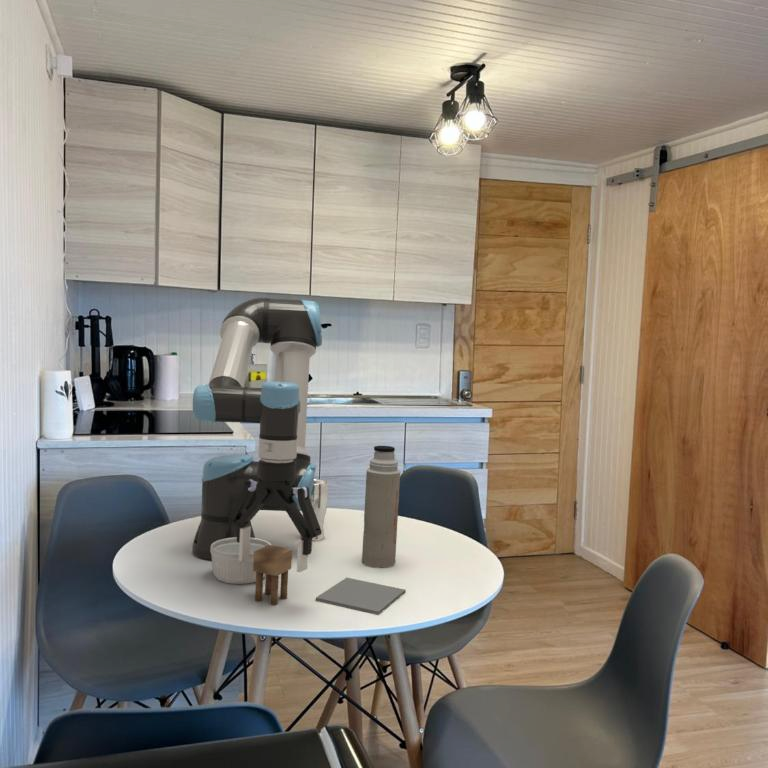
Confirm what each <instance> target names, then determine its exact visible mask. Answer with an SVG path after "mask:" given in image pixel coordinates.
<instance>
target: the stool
mask: <svg viewBox="0 0 768 768" xmlns="http://www.w3.org/2000/svg"><path fill="white" fill-rule="evenodd" d="M292 560H293V549H292V548H287V547H282V546H278V545H277V546H276V545H274V544H273V545H272V544H271V545H267V546H265V547H263V548H261V549H259V550H256V551H254V563H253V571H254V572H256V582H255V592H254V594H255V595H254V598H255V599H254V601H256V602H262V601H263V590H264V595H265V596H267V597H270V601H269V604H270V605H272V606H276V605H278V603H279V602H278V600H279V598H280V599H281V600H287V599H288V586H289V585H288V583H289V581H288V580H289V571H290V570H291V569H292V565H293V564H292ZM263 574H266V576H265V583H264V578H263ZM279 577H280V581H279ZM279 582H280V589H279ZM264 584H265V585H264ZM263 585H264V586H265V589H263V588H264V587H263ZM279 590H280V591H279ZM278 597H279V598H278Z"/></svg>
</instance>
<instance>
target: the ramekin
mask: <svg viewBox="0 0 768 768" xmlns="http://www.w3.org/2000/svg"><path fill="white" fill-rule="evenodd" d="M267 545H272V544H271V542H269V541H268V540H265V539H262V538H256V537H255V538H250V557H249V558H247V559H245V560H243V561H240V560H239V543H238V542H237V537H234V538H226V539H221V540H218V541H216V542H214V543H212V545H211V549H210V552H211V554H212V560H211V564H212V565H211V567H212V572H213V575H214V577H215V578H216V580H218V581H219V582H222V583H225V584H231V585H248V584H253V583H256V572H254V571H253V563H254V551H256V550H259V549H261V548H263V547H265V546H267ZM264 578H266V574H263V579H264Z"/></svg>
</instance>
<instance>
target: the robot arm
mask: <svg viewBox="0 0 768 768" xmlns="http://www.w3.org/2000/svg"><path fill="white" fill-rule="evenodd" d="M321 320H322V319H321V312H320V306H319V304H318V303H317V302H316V301H312V300H307V299H306V300H305V299H292V298H291V299H287V298H273V297H272V298H271V297H270V298H269V297H268V298H267V297H255V298H251V299H248V300H246V301H244V302H242V303H240V304H238V305H236V306H235V307H233V309H232V310H230V311H229V313H227V315H226V316H225V317H224V318H223V320H222V323H221V327H220V330H219V334H220V337H221V341H220V344H219V348H218V351H217V355H216V358H215V361H214V365H213V367H212V371H211V374H210V378H209V381H208V384H204V385H203V384H202V385H201V384H199V385H197V386H196V387H195V388H194V390H193V393H192V413H193V417H194V418H195V420H197V421H204V422H211V423H245V424H259V435H258V436H259V437H258V438H259V439H258V458H259V460H258V461H255V459H254V457H253V455H252V454H249V453H235V454H231V453H230V454H226V455H219V456H214V457H211V458H209V459H208V460H207V461H206V462H205V463H204V464H203V468H202V469H203V470H202V478H201V481H202V482H201V483H202V484H201V486H202V487H201V510H200V512H201V514H200V517H201V518H200V522H199V525H198V528H197V529H196V532H195V536H194V538H193V540H192V554H193V555H194V556H195V557H197V558H200V559H204V560H208V561H212V554H211V552H210V549H211V545H212V543H214V542H216V541H218V540H221V539H226V538H234V537H237V542H238V543H239V560H240V561H243V560H245V559H247V558H249V557H250V538H256V536H255V531H254V529H253V526H252V521H251V520H252V519H253V518H254V517H255V516H256V515H257V514H258V513H259V512H260V511H275V512H276V511H277V512H280V511H281V512H286V514H287V516H288V518H290V520H291V522H292V523H293V525H294V526H295V528H296V530H297V531H298V534H300V537H299V538H298V541H297V542H298V543H297V563H296V564H297V565H296V572H297V573H302V572H304V571H306V570H307V569H308V562H309V561H308V557H309V555H311V554H312V548H313V541H312V538H314V537H317V536H319V535H321V533H322V531H321V528H320V525H319V523H318V520H317V517H316V515H315V512H314V509H313V506H312V504H311V501H310V498H311V493H312V488H313V482H314V479H315V474H316V469H317V465H316V464H315V463H314V462H311V454H309V453H308V451H306V433H307V432H306V431H307V416H308V415H307V414H308V397H309V396H308V395H309V393H308V391H309V378H310V377H309V375H310V358H312V357H313V356H314V355H315V354H316V352H317V348H319V347H321V346H322V344H323V336H322V321H321ZM258 343H259V344H261V343H262V344H269V345H270V351H271V352H272V353H273V354H274V356H275V362H274V363H275V364H274V365H275V366H274V381H265V382H263V384H262V385H261V387H249V386H245V384H246V380H247V376H248V375H247V374H248V371H249V365H250V362H251V361H250V360H251V356H252V353H253V348H254V347H255V346H256V345H257V344H258ZM303 516H304V517H303ZM301 536H302V538H301Z"/></svg>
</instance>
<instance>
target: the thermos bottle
mask: <svg viewBox="0 0 768 768" xmlns="http://www.w3.org/2000/svg"><path fill="white" fill-rule="evenodd" d="M395 450H396V449H395V447H394V446H390V445H375V446H373V451H374V452H373V453H374V455H373V458H371V459H370V460H369V463H368V465H369V468H366V473H365V474H366V475H365V476H366V477H365V494H364V495H365V496H364V512H363V513H364V514H363V518H364V519H363V524H364V525H363V534H362V548H361V549H362V550H361V551H362V552H361V553H362V554H361V563H362V564H363V565H364V564H365V565H364V566H366V565H367V566H368V567H370V566H371V567H370V568H375V567H386V568H390V566H391V567H393V566H395V564H396V557H397V556H396V555H397V536H398V519H399V516H398V515H399V501H400V486H401V485H400V483H401V480H400V479H401V471H400V469H398V467H399V464H398V463H399V461H397V459H395V456H396V455H395ZM367 566H366V567H367Z"/></svg>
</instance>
